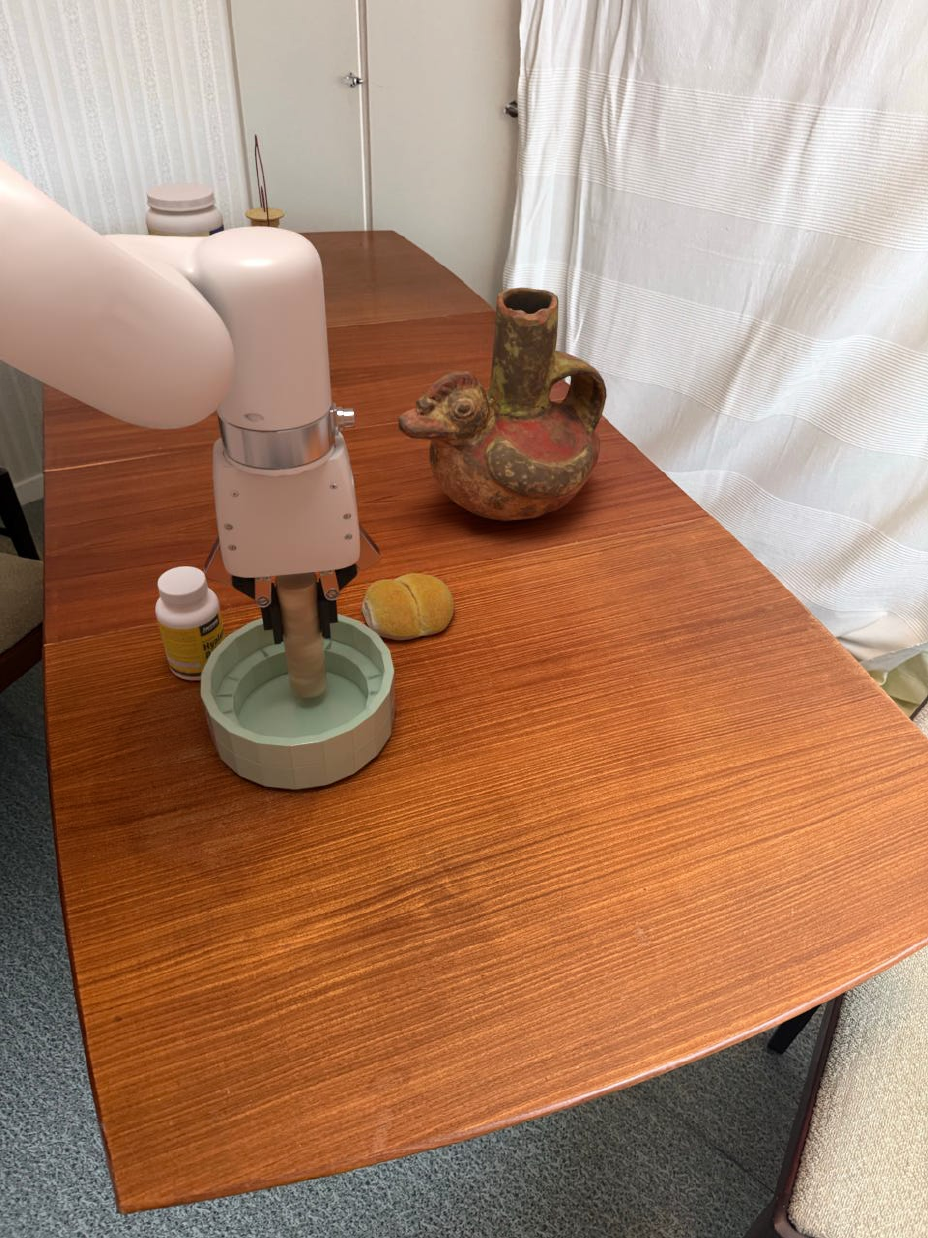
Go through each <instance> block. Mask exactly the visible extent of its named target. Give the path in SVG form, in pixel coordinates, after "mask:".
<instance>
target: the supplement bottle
mask: <svg viewBox="0 0 928 1238" xmlns="http://www.w3.org/2000/svg"><path fill="white" fill-rule="evenodd" d="M157 589H158V594H159V597H158V599H157V601H156V603H155V608H154V610H155V617H156V621H157V625H158V629H159V632H160V636H161V640H162V645H163V648H164V653H165V655H166V660H167V664H168V667H169V669H170V671H171V672H172V673H173V674H174V676H176V677H178V678H180V679H183V680H187V681H201V674H202V671H203V669H204V667H205V665H206V663H207V661H208V658H209V656H210V654H211V652H212V651H213V650H214V649H215V648H216V647H217V646H218V645H219V644H220V643H221V642H222V641H223V640H224V639H225V638H226V637H227V636H226V633H225V627H224V622H223V616H222V611H221V606H220V602H219V597H218V596H217V594H216V592H214V591H213V590H212V589H211V588H210V587H208V582H207V578H206V577H205V575H204V571H202V570H201V569H199V568H198V567H194V566H188V565H187V566H186V565H185V566H183V565H181V566H177V567H172V568H171V569H168V570H167V571H165V572H163V573H162V574H161V575H160V576H159V578H158V580H157Z"/></svg>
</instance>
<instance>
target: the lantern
mask: <svg viewBox="0 0 928 1238" xmlns="http://www.w3.org/2000/svg"><path fill="white" fill-rule="evenodd" d="M259 147H260V146H259V142H258V135H257V133H256V134H254V161H255V171H256V178H257V187H258V188H257V189H258V195H259V196H258V197H259V204H260V207H254V208H251V209H248V210H246V211H245V212H244V215H245V217H246V218H247V219H249V220H250V222H251V227H255V226H259V227H274V228H279V226H280V220H281V219H282V218H284V216H285V212H284V210H282V209H279V208H276V207H269V205H268V197H267V187H266V179H265V174H264V168H263V167H264V166H263V164H262V163H263V162H262V158H261V154H260V148H259ZM257 155H258V158H257ZM258 159H259V164H260V170H261V175H262V183H263V186H262V185H261V186H260V177H259V170H258V169H259V168H258Z"/></svg>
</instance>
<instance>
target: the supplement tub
mask: <svg viewBox="0 0 928 1238" xmlns="http://www.w3.org/2000/svg"><path fill="white" fill-rule="evenodd" d="M214 195H215V194H214V190H213V188H211V187H210V186H207V185H204V184H199V183H192V182H191V183H189V182H175V183H173V182H172V183H164V184H160V185H156V186H152V187H151V188H149V189H147V191H146V198H147V199H146V204H147V206H148V207H149V208H148V210H147V211H146V212H145V226H146V230H147V233H148V234H147V235H154V236H179V237H207V236H211V235H213V234H216V233H218V232H222V231H225V230H226V229H225V224H224V218H223V213H222V212H221V210H220V209H219V208H218V207H217V206H216V205H215V204H216V198H215V196H214Z"/></svg>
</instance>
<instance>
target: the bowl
mask: <svg viewBox="0 0 928 1238" xmlns="http://www.w3.org/2000/svg"><path fill="white" fill-rule="evenodd" d="M337 615H338V623H330V631H331V638H329V639H325V637H324V638H323V646H324V656H325V666H326V676H327V687H326V689H325V690H324V692H323V693H321V694H320V695H318V696H316V697H312V698H301V697H298V696H296V695H295V694H294V693H293V692H292V691H291V689H290V683H289V676H288V669H287V662H286V655H285V647H284V640H283V642H281V644H276V645H275V643H274V636H273V630H265V631H264V626H263V620H262V617H260V618H258V619H255V620H252V621H250V622H248V623H246V624H245V625H243V626H241V627H240V628H238V629H236V630H234V631H233V632H231V633H230V634H228V635H227V636H225V637H226V638H225V639H224V640H223V641H222V642H221V643H220V644H219V645H218V646H217V647H216V648H215V649H214V650H213V651H212V652H211V654H210V656H209V658H208V661H207V663H206V665H205V667H204V669H203V671H202V674H201V680H200V697H201V702H202V706H203V710H204V715H205V718H206V723H207V726H208V730H209V734H210V738H211V741H212V743H213V745H214V747H215V749H216V752H217V755H218V756H219V758H220V760H221V761H222V762H223V763H224V764H226V765H227V766H228V767H229V768H230V769H232V770H233V772H234V773H236V774H237V775H238V776H239V777H242V778H244V779H247V780H249V781H251V782H254V783H256V784H258V785H261V786H263V787H266V788H268V787H270V788H278V789H288V790H303V789H310V788H317V787H322V786H327V785H331V784H333V783H336V782H337V781H340V780H342V779H345V778H347V777H349V776H352V775H354V774H355V773H357V772H358V771H359V770H361V769H362V768H364V767H365V766H366V765H367V764H368V763H370V762H371V761H372V760H374V759H375V758H376V757H377V756H378V755H379V753H380V752H381V751H382V749H383V747H384V746H385V745H386V743H387V741H388V740H389V738H390V737H391V735H392V732H393V728H394V722H395V719H396V687H395V685H396V683H395V682H396V681H395V667H394V663H393V659H392V654H391V650H390V648H389V647H388V646H387V644H386V643H385V642H384V641H383V639H382V637H381V636H379V635H378V634H377V633H376V632H375V631H373V630H372V629H370V628H369V626H368V625H366V624H364V623H363V622H361V621H360V620H357V619H354V618H352V617H349V616H345V615H343V614H340V613H337Z"/></svg>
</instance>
